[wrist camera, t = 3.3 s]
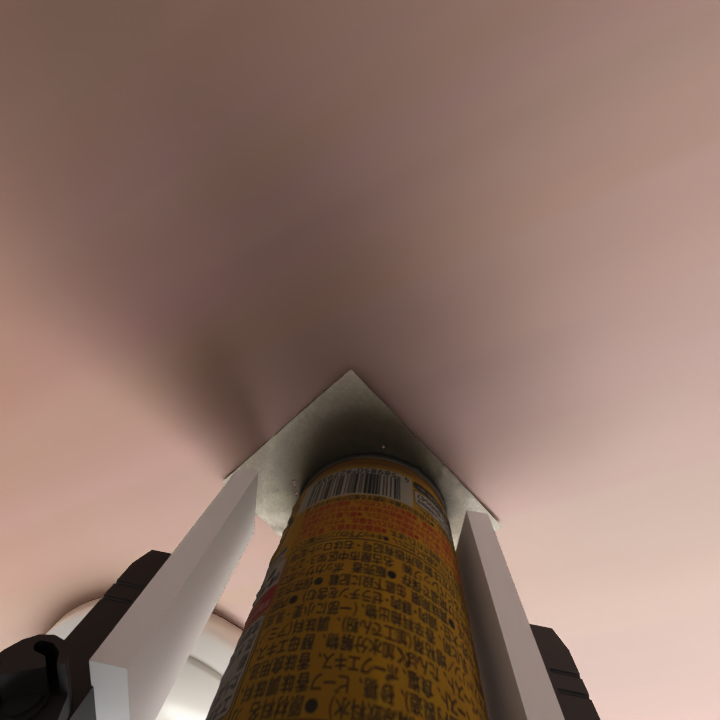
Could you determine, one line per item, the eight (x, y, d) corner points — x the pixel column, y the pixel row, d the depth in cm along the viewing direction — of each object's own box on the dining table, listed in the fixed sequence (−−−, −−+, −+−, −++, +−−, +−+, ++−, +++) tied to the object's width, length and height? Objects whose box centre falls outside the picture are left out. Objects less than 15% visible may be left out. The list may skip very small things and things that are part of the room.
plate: (26, 568, 17) (-3, 593, 16) (315, 628, 16) (308, 659, 15) (54, 759, 21) (32, 791, 19) (288, 816, 20) (281, 853, 18)
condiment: (364, 610, 16) (274, 1608, 4) (224, 479, 14) (-452, 1318, 3) (500, 522, 14) (1052, 1866, 2) (352, 365, 13) (-82, 1354, 1)
